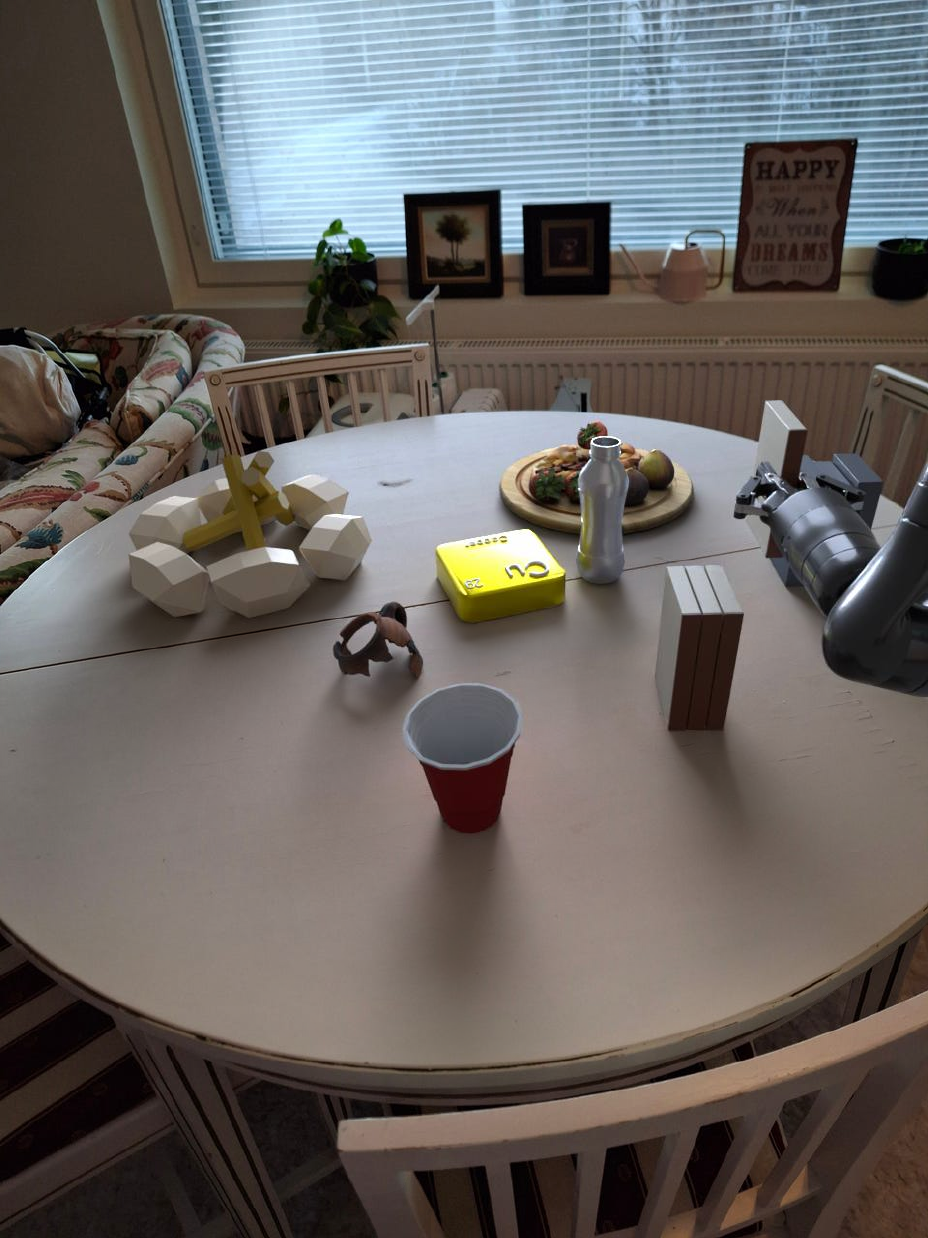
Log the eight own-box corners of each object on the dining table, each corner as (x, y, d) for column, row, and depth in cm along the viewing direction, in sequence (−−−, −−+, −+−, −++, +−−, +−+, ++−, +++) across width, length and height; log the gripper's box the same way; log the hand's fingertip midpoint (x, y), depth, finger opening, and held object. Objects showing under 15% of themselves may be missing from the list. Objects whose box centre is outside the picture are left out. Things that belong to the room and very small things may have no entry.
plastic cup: (396, 795, 80) (383, 703, 73) (493, 759, 84) (489, 668, 77) (439, 874, 72) (429, 779, 65) (545, 831, 75) (545, 736, 69)
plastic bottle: (618, 592, 109) (628, 453, 98) (569, 585, 111) (573, 448, 100) (627, 569, 114) (637, 434, 102) (580, 562, 116) (585, 430, 105)
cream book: (760, 520, 98) (781, 399, 90) (782, 558, 90) (808, 430, 82) (745, 520, 98) (765, 400, 90) (766, 558, 90) (789, 430, 82)
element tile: (531, 552, 119) (531, 523, 116) (570, 604, 107) (571, 573, 104) (433, 571, 116) (431, 541, 113) (462, 626, 104) (460, 595, 101)
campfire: (397, 588, 112) (384, 476, 103) (146, 653, 103) (106, 536, 93) (332, 493, 139) (317, 397, 130) (129, 537, 130) (96, 436, 120)
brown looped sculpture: (420, 697, 93) (378, 656, 88) (358, 712, 98) (315, 673, 93) (440, 619, 101) (402, 577, 96) (382, 636, 106) (343, 597, 101)
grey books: (833, 551, 115) (857, 452, 106) (856, 584, 107) (883, 481, 99) (766, 553, 115) (784, 455, 107) (785, 586, 108) (806, 483, 100)
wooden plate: (531, 447, 152) (531, 405, 147) (705, 465, 141) (710, 420, 137) (471, 523, 127) (469, 475, 123) (675, 551, 117) (681, 499, 112)
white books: (705, 676, 93) (722, 564, 85) (723, 730, 85) (744, 614, 77) (654, 677, 93) (666, 566, 85) (668, 731, 86) (682, 615, 77)
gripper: (910, 504, 73) (843, 434, 87) (756, 508, 74) (715, 438, 88) (890, 575, 77) (829, 497, 92) (745, 578, 78) (707, 500, 92)
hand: (773, 468), depth 90 cm, fingers closed on cream book, 2 cm apart
